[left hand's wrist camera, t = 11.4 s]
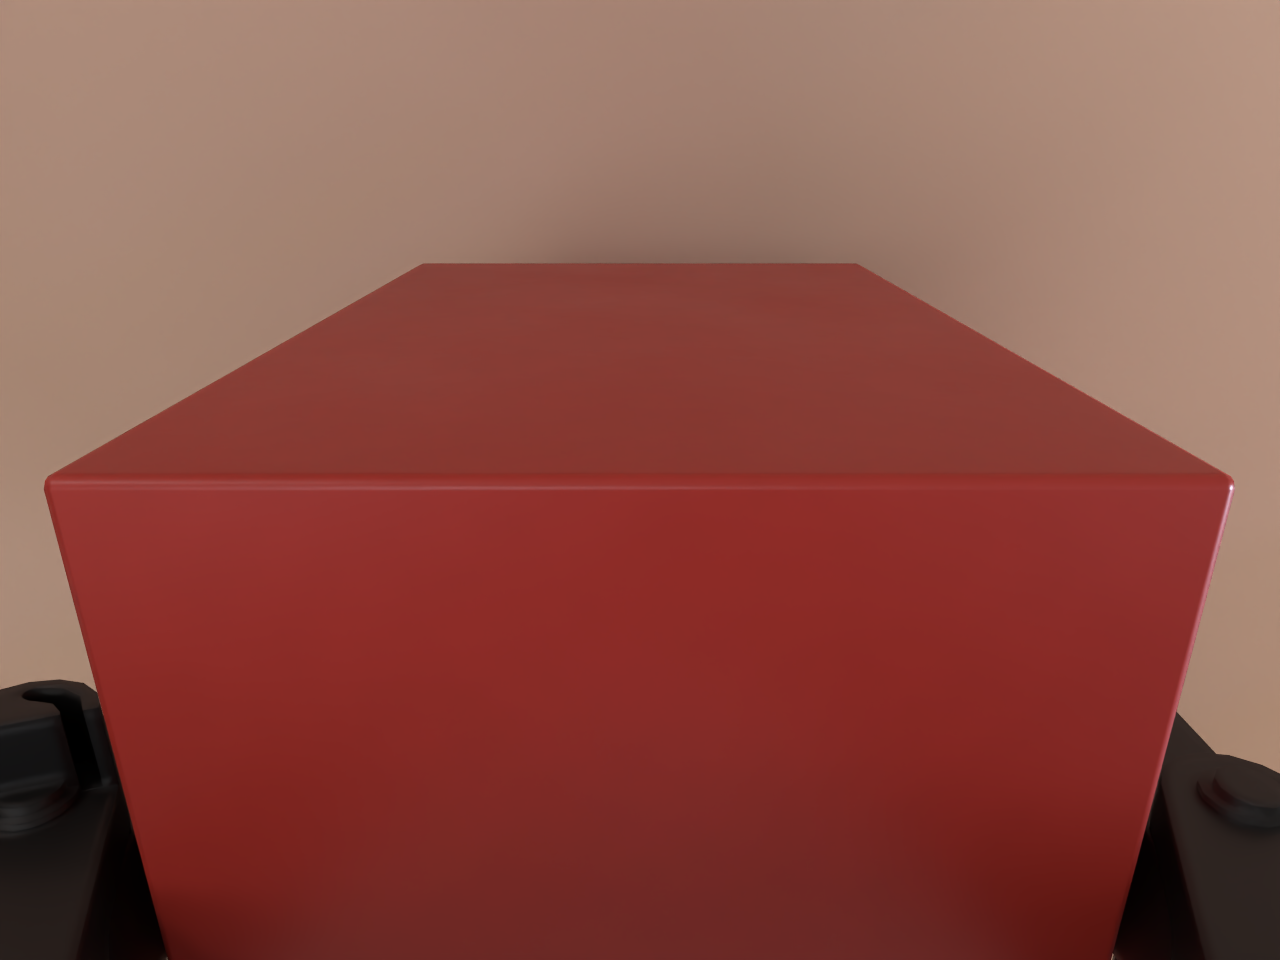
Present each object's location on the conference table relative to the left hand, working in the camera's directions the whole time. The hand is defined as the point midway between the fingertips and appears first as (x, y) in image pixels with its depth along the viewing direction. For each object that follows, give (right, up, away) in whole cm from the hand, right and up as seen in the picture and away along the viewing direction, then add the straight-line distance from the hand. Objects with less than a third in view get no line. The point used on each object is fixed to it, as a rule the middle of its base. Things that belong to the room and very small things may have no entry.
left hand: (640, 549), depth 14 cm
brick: (0, +1, +2) cm, 2 cm away
